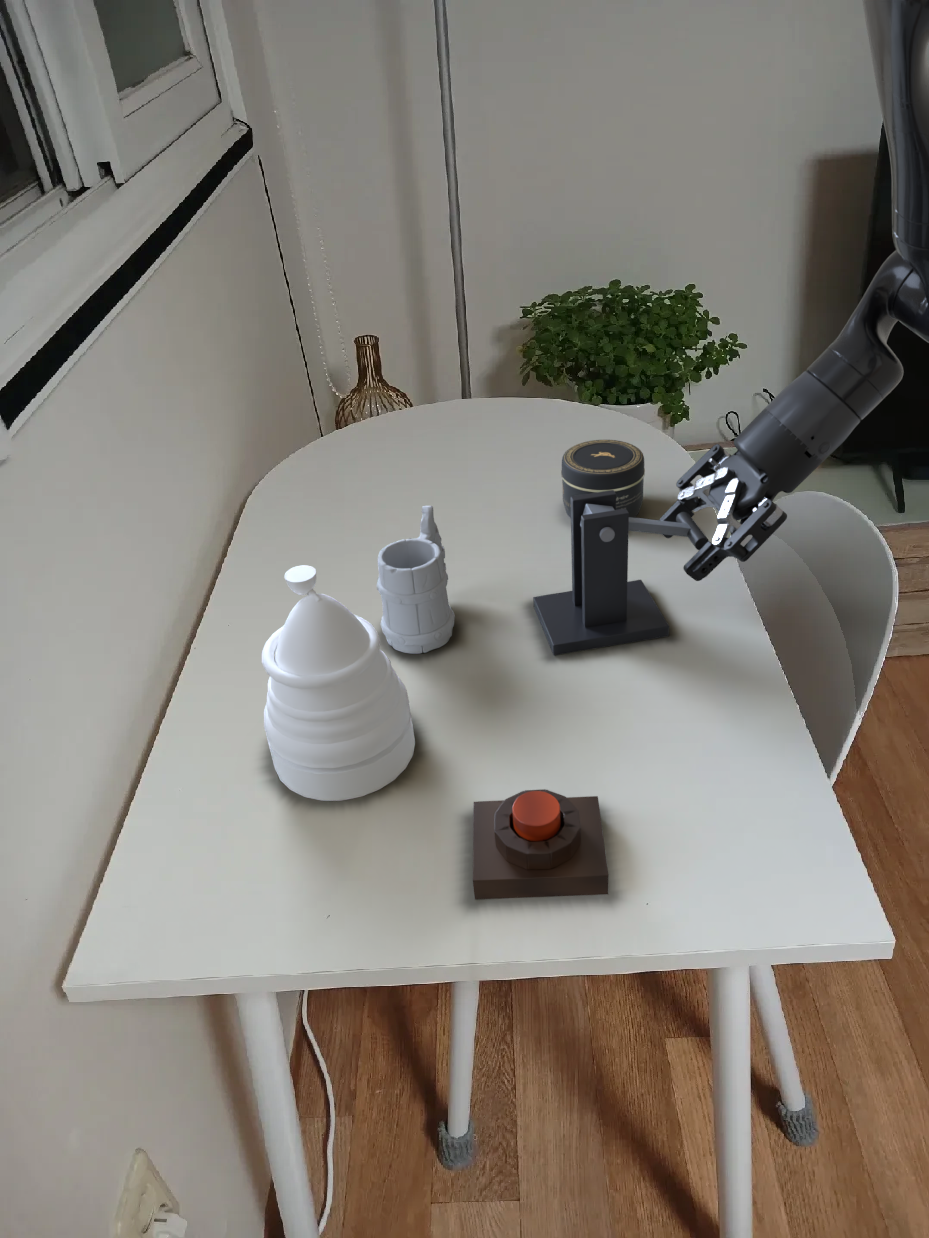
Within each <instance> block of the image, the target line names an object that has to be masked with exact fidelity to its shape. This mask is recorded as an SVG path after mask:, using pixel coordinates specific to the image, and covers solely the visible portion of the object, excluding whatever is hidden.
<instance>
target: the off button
mask: <svg viewBox="0 0 929 1238" xmlns="http://www.w3.org/2000/svg"><path fill="white" fill-rule="evenodd" d="M512 812H513V825H514V829H515V831H516V832H517V834H518V835H519V836H521V837H522V838H524V839H526V840H529V841H535V842H538V841H545V840H548V839H550V838H552V837H553V836H555V835H556V834H557V832H558V831H559V829H560V825H561V817H560V804H559V802H558V801H557V799H556V798H555V797H554V796H552V795H551V794H549V793H546V792H542V791H531V792H527V793H524V794H522V795H521V796H519V797H518V798H517V799H516V800H515V802H514V804H513V807H512Z"/></svg>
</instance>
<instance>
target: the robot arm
mask: <svg viewBox="0 0 929 1238" xmlns="http://www.w3.org/2000/svg"><path fill="white" fill-rule="evenodd" d="M861 3H862V6H863V14H864V20H865V26H866V32H867V33H866V34H867V38H868V39H867V40H868V45H869V50H870V56H871V63H872V69H873V74H874V80H875V86H876V91H877V96H878V102H879V108H880V113H881V118H882V122H883V127H884V131H885V136H886V141H887V147H888V148H887V149H888V154H889V162H890V163H889V164H890V174H891V176H890V177H891V234H892V241H893V246H894V248H895V250H894V251H893V252H892V253H891V254H890V255H889V256H888V257H887V258H886V259H885V260H884V261H883V263H882V264H881V265H880V267H879V269H878V270H877V272H876V273H875V274H874V276H873V278H872V280H871V282H870V284H869V285H868V287H867V289H866V291H865V292H864V294H863V296H862V297H861V299H860V301H859V303H858V304H857V306H856V308H855V309H854V311H853V312H852V314H851V315H850V317H849V318H848V320H847V322H846V324H844V327H843V328H842V330H841V331H840V333H839V334H838V336H837V337H836V338H835V340H833V342H832V343H830V345H829V346H827V348H826V349H825V350H824V351H823V352H822V353H821V354H820V355H819V356H818V357H817V358H816V359H815V360H814V361H813V362H812V363H811V364H809V366H808V367H807V368H806V370H804V371H803V372H802V373H800V375H799V376H797V377H796V378H795V379H794V380H792V381H791V382H790V383H789V384H788V385H786V386H785V387H784V388H783V389H781V391H780V392H779V393H778V394H777V395H776V396H775V397H774V398H773V399H772V400H771V401H770V402H769V403H768V404H767V406H766V407H764V409H762V411H760V412H759V413H758V414H757V416H756V417H755V418H754V419H752V421H751V422H750V423H749V424H748V425H747V426H746V427H744V429H743V430H742V431H741V432H740V433H739V434H738V435H737V436H736V437H735V438H734V441H733V445H734V447H735V448H736V449H737V450H736V452H734V453H733V454H730V452H728V450H726V449H725V448H724V447H723V446H721V445H720V444H719V443H716V444H714V445H713V446H712V447H711V448H710V449H708V451H706V452H705V453H704V454H703V455H702V456H701V457H700V458H699V459H698V460H697V461H696V462H695V463H694V464H693V465H692V466H691V467H690V468H689V469H688V470H687V471H686V472H685V473H684V474H683V475H682V476H680V478H679V479H678V480H677V481H676V483H675V485H676V487H677V488H678V489H679V493H678V495H677V500H676V501H675V502H674V503H673V504H672V505H671V506H670V507H669V508H668V509H667V510H666V511H665V513H663V514H662V515H661V517H660V518H659V520H660V521H669V522H676V517H677V515H678V514H679V513H681V512H687V513H688V514H689V515H690V516H691V518H692V517H694V516H695V513H694V512H698V511H700V510H703V509H706V508H709V507H711V508H715V509H716V510H717V512H718V514H717V517H716V522H717V527H716V529H715V532H714V534H713V537H712V540H711V541H710V540H709V541H708V542H707V543H706V544H705V545H704V546H703V547H702V548H701V549H700V550H697V552H696V553H695V554H694V555H693V556H692V557H691V558H690V559H689V560H688V561H687V562H686V563H685V564H684V565H683V568H682V569H683V571H684V573H685V574H686V575H688V577H690V578H692V580H694V581H696V582H700V581H702V580H703V579H705V578H707V577H708V576H709V575H710V574H711V573H712V572H713V571H714V570H715V569H716V568H717V567H718V566H719V565H720V564H721V563H722V562H723V561H724V560H725V559H726V558H734V559H737V560H738V561H740V562H741V563H744V562H747V561H748V560H749V559H750V558H751V557H752V556H753V555H754V554H755V553H756V552H757V551H758V550H759V549H760V548H761V546H762V545H763V544H764V543H765V542H767V540H769V538H770V537H771V536H772V535H773V534H774V533H775V532H776V531H777V530H778V529H779V528H780V527H781V526H782V525H783V524H784V523H785V522H786V520H787V518H788V513H786V512H785V511H784V510H783V509H782V508H781V507H780V506H779V505H777V503H774V500H775V498H776V496H777V495H778V494H779V493H781V492H783V493H785V494H790V493H792V492H794V491H795V490H796V489H797V488H798V487H799V486H800V485H801V484H802V483H803V482H804V481H805V480H806V479H807V478H808V477H809V476H811V474H813V472H814V471H816V469H817V468H818V467H819V466H821V465H822V464H823V462H825V461H826V460H827V458H829V457H830V456H831V455H832V454H833V453H834V452H835V451H836V450H837V449H838V448H839V447H840V446H841V445H843V443H844V442H845V441H846V440H847V439H848V437H849V436H850V435H851V433H852V432H853V431H854V430H855V428H856V427H857V426H858V425H859V424H860V423H861V421H863V420H864V419H865V418H866V417H867V416H868V415H869V414H871V412H872V411H873V410H874V409H876V407H877V406H878V405H880V403H881V402H882V401H883V400H884V399H886V397H887V396H888V395H889V394H891V393H892V391H893V390H894V389H895V388H896V387H897V386H898V385H899V383H900V382H901V381H902V380H903V376H904V373H905V372H904V366H903V364H902V362H901V361H900V359H899V358H898V356H897V355H896V353H894V351H893V350H892V349H891V347H890V346H889V345H888V344H887V342H888V339H889V336H890V333H891V332H892V330H893V328H894V326H895V325H896V323H897V322H898V321H899V322H900V323H901V324H902V325H903V326H905V327H906V328H908V329H909V330H910V331H912V332H913V333H914V334H915V335H917V336H918V337H920V338H921V339H922V340H923V341H925V342H926V343H928V344H929V62H928V45H929V0H861ZM698 476H700V477H701V478H699V479H696V477H698ZM694 479H696V480H695V482H694V484H693V483H692V481H694ZM739 520H740V521H739ZM729 533H730V536H729V537H728V534H729ZM661 535H662V536H663V537H665V538H666V539H671V538H673V537H674V535H664V534H661ZM748 536H752V537H751V538H750V539H749V540H748V541H747V543H745V544H744V545H742V543H743V542H744V541H745V539H746V538H747V537H748Z"/></svg>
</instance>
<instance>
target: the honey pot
mask: <svg viewBox="0 0 929 1238" xmlns="http://www.w3.org/2000/svg"><path fill="white" fill-rule="evenodd" d="M284 580H285V582H286V585H287V587H288V588H289V589H290V590H291V591H292V592H293V593H295V594H296V595H299V596H303V597H302V598H301V599H300V600H298V601H297V603H296V604H295V605H294V606H293V607H292V609H291V610H290V612H289V613H288V615H287V618H286V619H285V622H284V625H282V626H281V627H279V628H278V629H277V630H275V631H274V632H273V633H272V634H271V635H270V637H269V638H268V639H267V640H266V641H265V643H264V645H263V648H262V650H261V665H262V667H263V670H264V671H265V673H266V675H268V676H269V678H268V680H267V693H266V703H265V706H264V709H263V729H264V732H265V737H266V739H267V744H268V748H269V751H270V754H271V759H272V763H273V767H274V770H275V772H276V774H277V776H278V778H279V781H281V782H282V784H284V785H285V786H286V787H287V788H288V789H289V790H290V791H292V792H293V793H296V794H297V795H299V796H302V797H304V798H308V799H312V800H317V801H322V802H323V801H326V802H327V801H328V802H329V801H330V802H332V801H333V802H336V801H337V802H339V801H347V800H352V799H357V798H362V797H364V796H367V795H369V794H372V793H374V792H377V791H379V790H381V789H382V788H384V787H386V786H388V785H389V784H391V783H392V782H394V781H395V780H396V779H397V778H398V777H399V776H400V775H401V774H402V773H403V772H404V770H406V768H407V767H408V765H409V763H410V761H411V760H412V758H413V756H414V753H415V752H414V751H415V747H416V738H415V733H414V732H415V731H414V725H413V718H412V713H411V706H410V699H409V695H408V690H407V688H406V685H405V683H404V682H403V680H402V679H401V677H400V676H399V675H398V674H397V671H396V670H395V669H394V667H393V665H392V662H391V660H390V659H389V657H388V656H387V654H386V653H385V651H383V650H382V649H380V647H381V639H380V633H379V632H378V631H377V629H376V628H375V626H374V625H373V624H372V623H371V622H369V621H368V620H367V619H366V618H363V617H361V616H359V615H356V614H354V613H353V612H352V611H351V610H350V609H349V608H348V607H347V606H346V605H344V603H342V602H340V601H339V600H337V599H336V598H334V597H333V596H330V595H328V594H324V593H318V592H316V590H314V589H315V587H316V583H317V570H316V568H315V567H314V566H311V565H308V564H302V565H296V566H293V567H291V568H289V569H288V570H287V571H286V572H285V573H284Z"/></svg>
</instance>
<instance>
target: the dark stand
mask: <svg viewBox="0 0 929 1238" xmlns="http://www.w3.org/2000/svg"><path fill="white" fill-rule="evenodd" d="M570 500H571V518H570V534H571V535H570V541H571V542H570V545H571V548H570V549H571V551H570V552H571V590H568V591H562V592H556V593H549V594H543V595H537V596H533V597H532V603H533V609H534V611H535V613H536V616H537V618H538V621H539V623H540V626H541V628H542V632H543V633H544V636H545V639H546V641H547V643H548V645H549V648H550V650H551V653H552V655H553V656H559V655H565V654H570V653H577V652H582V651H589V650H595V649H600V648H606V647H610V646H613V647H614V646H618V645H624V644H629V643H630V644H631V643H637V642H642V641H648V640H654V639H660V638H666V637H669V636H670V625H669V623H668V621H667V620H666V618H665V617H664V615H663V613H662V611H661V610H660V608H659V606H658V605H657V603H656V602H655V600H654V599H653V597H652V595H651V594H650V591H649V590H648V588H647V587H646V585H645V584H644V582H643V580H642V579H636V580H635V579H634V580H629V581H628V579H629V577H628V576H629V575H628V573H629V572H628V571H629V569H628V568H629V531H628V529H629V513H628V511H627V510H626V509H619V510H616V493H615V492H614V490H610V491H603V492H596V493H590V494H583V495H577V496H571V497H570ZM586 504H595V505H604V506H612V507H613V508H614V510H613V511H607V512H600V513H594V514H587V515H583V512H584V509H585V505H586ZM580 522H581V526H580Z"/></svg>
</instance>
